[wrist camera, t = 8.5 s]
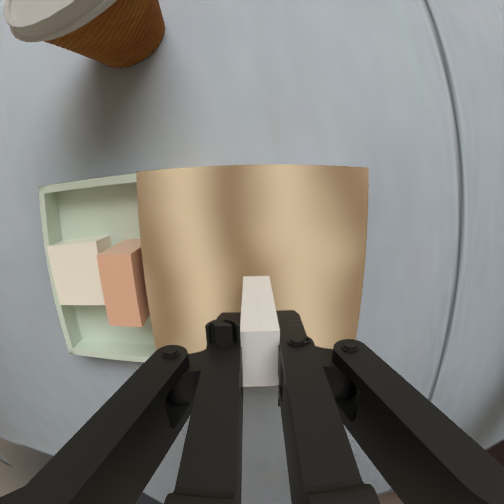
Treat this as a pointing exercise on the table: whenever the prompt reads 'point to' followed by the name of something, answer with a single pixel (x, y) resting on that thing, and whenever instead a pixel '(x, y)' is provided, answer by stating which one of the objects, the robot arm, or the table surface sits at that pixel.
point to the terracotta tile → (124, 284)
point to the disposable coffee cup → (91, 27)
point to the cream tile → (78, 269)
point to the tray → (119, 228)
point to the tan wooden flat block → (253, 245)
